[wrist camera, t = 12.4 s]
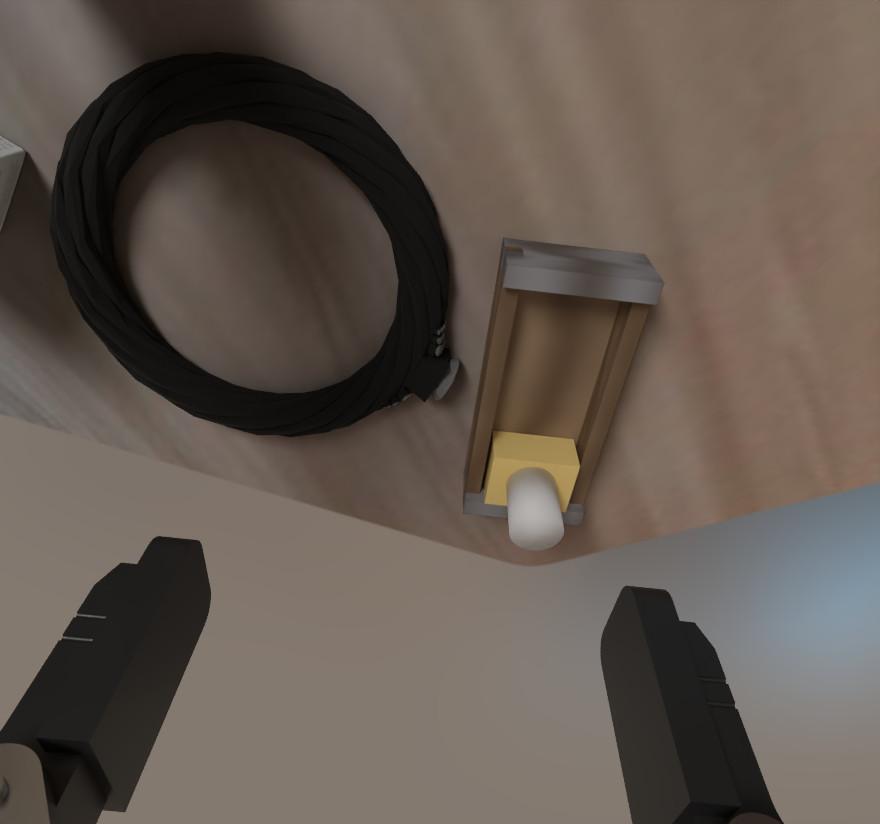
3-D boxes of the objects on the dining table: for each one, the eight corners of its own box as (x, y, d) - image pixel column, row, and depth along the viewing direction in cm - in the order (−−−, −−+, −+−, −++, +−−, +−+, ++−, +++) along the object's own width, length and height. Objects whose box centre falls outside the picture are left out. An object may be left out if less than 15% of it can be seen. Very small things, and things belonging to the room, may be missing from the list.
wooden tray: (463, 474, 53) (463, 513, 49) (503, 238, 41) (507, 264, 37) (571, 485, 54) (580, 525, 50) (645, 254, 41) (664, 283, 37)
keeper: (483, 475, 51) (485, 550, 44) (492, 430, 48) (496, 502, 41) (560, 483, 51) (574, 559, 44) (573, 439, 48) (590, 512, 42)
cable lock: (82, -66, 29) (562, 242, 37) (120, -60, 32) (555, 223, 40) (10, 346, 44) (368, 505, 51) (41, 322, 47) (374, 476, 55)
